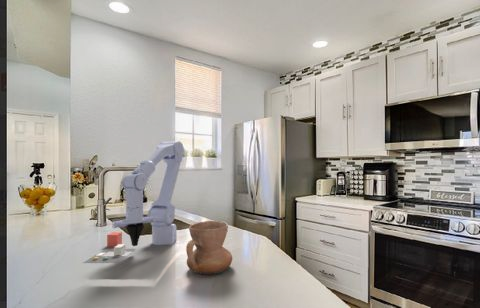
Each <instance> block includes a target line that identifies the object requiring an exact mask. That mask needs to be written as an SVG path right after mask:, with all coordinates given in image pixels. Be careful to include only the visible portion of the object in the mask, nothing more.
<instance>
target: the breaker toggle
mask: <svg viewBox="0 0 480 308" xmlns="http://www.w3.org/2000/svg"><path fill="white" fill-rule="evenodd" d="M113 249H114V255H122V254H123V253H124V252H125V249H126V244H125V243H122V244H119V245H117V246H113Z"/></svg>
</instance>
